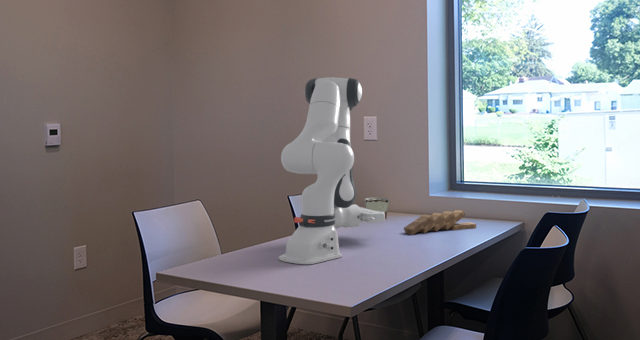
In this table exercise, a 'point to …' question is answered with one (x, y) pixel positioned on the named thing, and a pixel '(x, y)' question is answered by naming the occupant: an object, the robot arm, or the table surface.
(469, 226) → the domino
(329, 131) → the robot arm
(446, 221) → the domino
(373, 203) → the food container
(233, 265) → the table surface
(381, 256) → the table surface
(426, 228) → the domino
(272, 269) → the table surface
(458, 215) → the domino
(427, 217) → the domino
